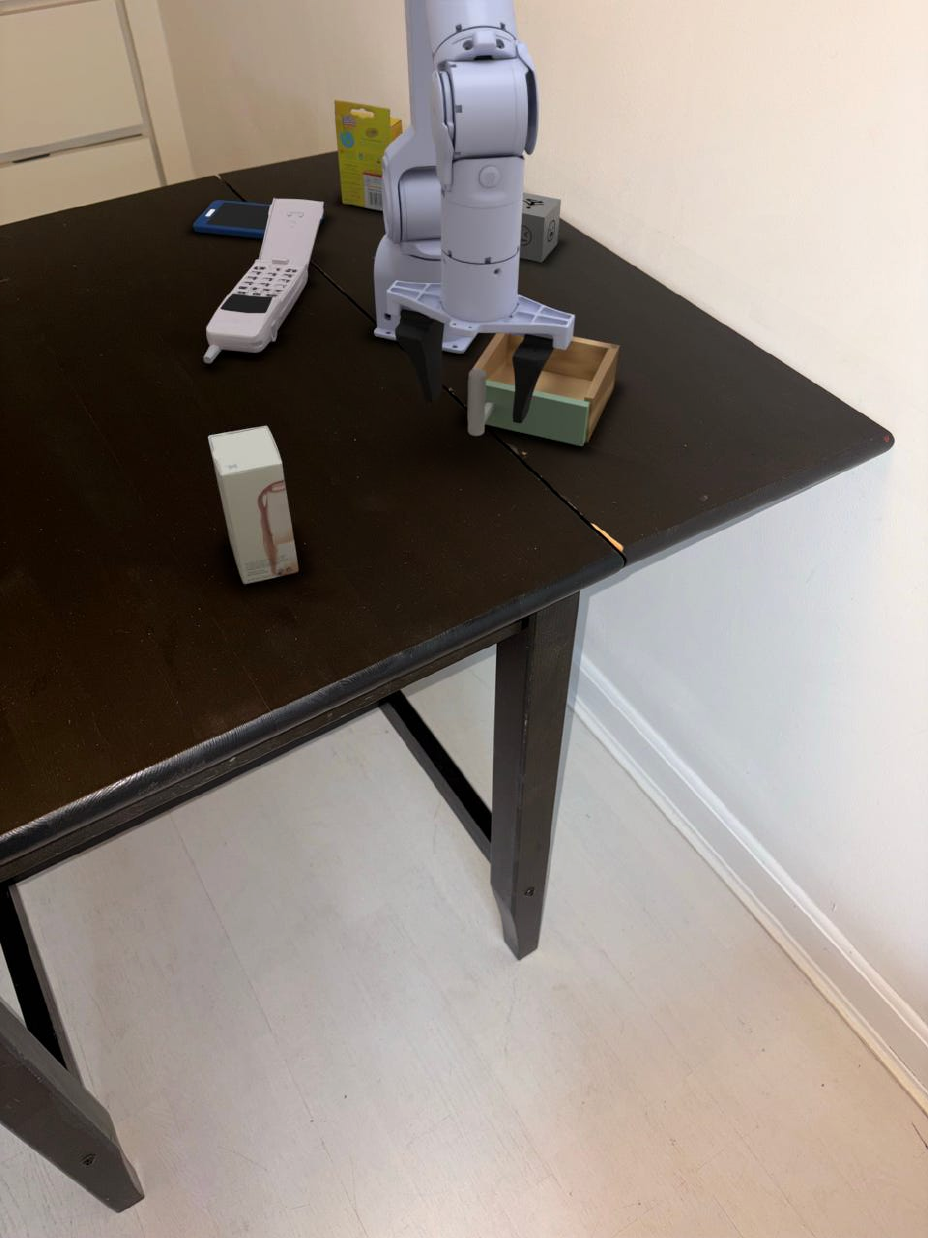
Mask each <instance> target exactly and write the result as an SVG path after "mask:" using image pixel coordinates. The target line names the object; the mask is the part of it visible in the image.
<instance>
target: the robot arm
mask: <svg viewBox="0 0 928 1238" xmlns="http://www.w3.org/2000/svg"><path fill="white" fill-rule="evenodd" d="M403 1H404V18H405V19H404V21H405V38H406V39H405V40H406V41H405V42H406V59H407V76H408V77H407V78H408V95H409V96H408V98H409V99H408V100H409V115H410V117H409V118H410V124H409V126H407V128H406V129H405V130H404V131H402V134H401V135H400V136H398V137H397V138H396V139H395V140H394V141H393V142H392V143H391V144H390V145H389V146H388V147H387V148H386V149H385V151H384V156H383V157H382V174H383V176H382V205H383V211H382V215H383V223H384V230H385V234H384V235H383V236H382V238H381V239H380V241H379V244H378V246H377V248H376V251H375V252H376V253H375V258H374V267H373V282H374V297H375V314H376V315H375V316H376V328H375V329H374V331H373V334H374V336H375V337H376V338H383V339H387V340H391V341H396V342H398V344H399V345H400V346H401V348H402V350H404V352H405V354H406V355H407V357H408V358H409V361H410V363H411V365H412V366H413V369H414V370H415V373H416V376H417V378H418V382H419V385H420V387H421V390H422V394H423V397H424V402H425V403H427V404H431V405H433V404H435V402H436V400H437V398H438V397H439V396H440V394H441V393H442V391H443V380H444V375H443V374H444V372H443V352H448V353H454V354H458V355H460V354H464V353H465V352H466V350H467V349H468V347H469V346H470V345H471V344H472V342H473V340H474V339H475V338H476V336H477V335H478V334H496V333H506V334H511V335H516V336H521V337H524V340H523V341H522V343H520V345H519V346H518V348H517V349H516V351H515V353H514V354H513V357H512V361H513V367H514V376H515V397H514V406H513V422H515V423H522V422H523V420H524V418H525V417H526V415H527V413H528V411H529V406H530V402H531V398H532V395H533V392H534V389H535V386H536V383H537V381H538V379H539V376H540V374H541V372H542V370H543V368H544V366H545V364H546V362H547V360H548V359H549V357H550V355H551V354H552V352H553V350H554V348H556V349H561V350H566V349H567V347H568V346H569V344H570V342H571V340H572V338H573V336H574V329H575V320H576V314H573V313H568V312H564V311H561V310H558V309H555V308H552V307H549V306H548V305H545V304H544V303H543V304H542V303H540V302H538V301H535V300H533V299H532V298H531V299H530V298H528V297H526V296H524V295H521V294H518V291H519V273H520V258H519V257H520V239H521V221H522V203H523V192H524V183H525V164H526V159H525V156H524V154H523V153H524V152H525V154H526V155H528V156H531V155H532V154H533V153H534V151H535V149H536V145H537V140H538V136H539V135H538V134H539V121H540V99H539V98H540V96H539V85H538V78H537V70H536V67H535V63H534V61H533V58H532V56H531V55H530V54H529V51H528V46H527V42H526V41H525V40H521V41H520V40H519V35H518V34H519V33H518V28H517V20H516V14H515V12H516V11H515V6H514V0H403ZM435 166H436V167H435Z"/></svg>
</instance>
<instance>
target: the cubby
mask: <svg viewBox="0 0 928 1238" xmlns="http://www.w3.org/2000/svg"><path fill="white" fill-rule="evenodd" d="M523 340H524V337H521V336H516V335H511V334H506V333H495V335H494V336H493V337H492V339H491V341H490V342H489V343H488V345H487V347H486V348H485V349H484V350H483V353H482V354H481V355H480V357H479V358H478V360H477V361H476V363H475V364H474V366H473V367H472V368H471V370H473V369H481V370H483V371H485V372H486V380H489V381H494V382H498V383H503V384H507V385H512V386H515V376H514V367H513V361H512V357H513V354H514V353H515V351H516V349H517V348H518V346H519V345H520V343H522V341H523ZM620 348H621V347H620V345H619V344H614V343H608V342H603V341H599V340H592V339H588V338H583V337H579V336H574V335H573V338H572V340H571V342H570V344H569V346H568V347H567V349H566V350H561V349H556V348H554V350H553V352H552V354H551V355H550V357H549V359H548V360H547V362H546V364H545V366H544V368H543V370H542V372H541V374H540V376H539V379H538V381H537V383H536V386H535V389H534V390H535V391H540V392H545V393H549V394H554V395H558V396H563V397H568V398H572V399H577V400H582V401H586V402H590V405H589V413H588V421H587V429H586V437H585V442H584V443H589V441H590V439H591V438H592V437H591V436H592V435H593V432H594V431H595V429H596V426H597V424H598V422H599V420H600V418H601V416H602V414H603V412H604V410H605V408H606V405H607V403H608V401H609V399H610V398H611V395H612V393H613V391H614V389H615V382H616V376H617V368H618V361H619V354H620Z"/></svg>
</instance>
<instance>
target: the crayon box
mask: <svg viewBox="0 0 928 1238" xmlns="http://www.w3.org/2000/svg"><path fill="white" fill-rule="evenodd" d="M333 103H334V122H335V133H336V147H337V156H338V157H337V158H338V169H339V180H340V189H341V190H340V191H341V201H342V202H341V203H342V205H351V206H355V207H361V208H366V209H371V210H376V211H381V212H383V205H382V176H383V174H382V157H383V156H384V151H385V149H386V148H387V147H388V146H389V145H390V144H391V143H392V142H393V141H394V140H395V139H396V138H397V137H398V136H400V135H401V134H402V133H403V120H402V119H401V118H394V117H391V108H389V107H383V106H378V105H377V106H376V105H371V104H364V103H358V102H352V101H345V100H339V99H334V101H333ZM362 109H364V111H365V112H368V113H363V112H358V111H359V110H362ZM352 110H357V111H352ZM370 113H373V114H370Z"/></svg>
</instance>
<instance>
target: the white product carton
mask: <svg viewBox="0 0 928 1238" xmlns="http://www.w3.org/2000/svg"><path fill="white" fill-rule="evenodd" d="M207 439H208V444H209V448H210V453H211V457H212V462H213V467H214V472H215V476H216V480H217V481H216V482H217V486H218V490H219V491H218V492H219V495H220V499H221V503H222V509H223V515H224V518H225V522H226V527H227V533H228V538H229V542H230V545H231V551H232V553H233V558H234V560H235V564H236V567H237V570H238V574H239V576H240V579H241V581H242V583H243V585H248V584H252V583H257V582H262V581H266V580H270V579H275V578H279V577H280V578H281V577H284V576H288V575H292V574H296V573H298V572H299V564H298V557H297V551H296V544H295V539H294V538H295V537H294V532H293V525H292V519H291V513H290V507H289V499H288V494H287V493H288V492H287V487H286V486H287V485H286V480H285V473H284V467H283V460H282V458H281V454H280V451H279V449H278V446H277V444H276V441H275V438H274V437H273V434H272V431H271V430H270V428H269V426H267V425H262V426H258V427H257V426H256V427H251V428H245V429H238V430H233V431H228V432H222V433H217V434H215V433H214V434H211V435H208V436H207Z"/></svg>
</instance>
